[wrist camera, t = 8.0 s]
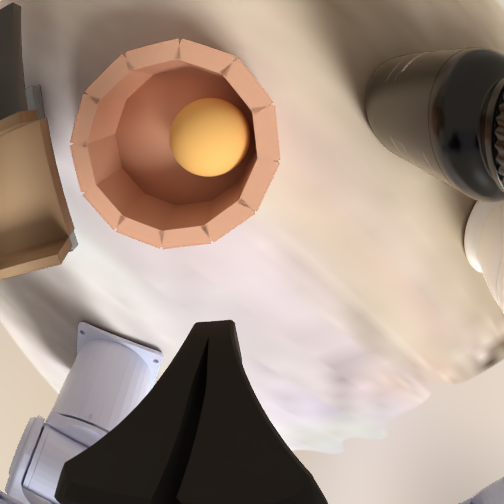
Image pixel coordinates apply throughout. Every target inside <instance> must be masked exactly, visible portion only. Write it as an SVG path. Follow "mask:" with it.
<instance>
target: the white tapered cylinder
mask: <svg viewBox="0 0 504 504" xmlns="http://www.w3.org/2000/svg"><path fill="white" fill-rule="evenodd" d="M464 247H465V253H466V257H467V259H468V261H469V263H470V265H471V266H472V267H473V268H474V269H476V270H477V271H479V272H482V273H483V276H484V279H485V282H486V284H487V286H488V288H489V290H490V292H491V294H492V296H493V297H494V299H495V301H496V302H497V304H498V305H499V306H500V308H501V309H502V312H503V314H504V200H503V201H499V202H481V201H477V202H476V204H475V205H474V207H473V209H472V211H471V213H470V216H469V219H468V222H467V225H466V230H465V238H464Z"/></svg>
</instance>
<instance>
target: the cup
mask: <svg viewBox="0 0 504 504" xmlns="http://www.w3.org/2000/svg"><path fill="white" fill-rule="evenodd" d="M125 54H126V55H125ZM125 54H121V55H120V56H119V57H118V58H117V59H116V60H115V61H114V62H113V63H112V64H111V65H110V66H109V67H108V68H107V69H106V70H105V71H104V72H103V73H102V74H101V75H100V76H99V77H98V78H97V79H96V80H95V81H94V82H93V83H92V84H91V85H90V86H89V87H88V88H87V89H86V90H85V92H86V93H87V94H83V96H82V100H81V103H80V106H79V110H78V113H77V117H76V121H75V124H74V128H73V132H72V136H71V140H70V142H71V143H74V144H73V145H70V148H71V153H72V157H73V161H74V166H75V170H76V174H77V178H78V182H79V186H80V190H81V192H84V191H86V192H85V193H84V194H83V196H84V197H85V198H86V199H87V201H88V202H89V203H90V204H91V205H92V206H93V208H94V209H95V210H96V211H97V212H98V213H99V214H100V215H101V217H102V218H103V219H104V220H105V221H106V222H107V223H108V224H109V225H110V227H111V228H112V229H113V230H114V229H115V228H116V227H117V231H116V232H118V233H121V234H123V235H126V236H128V237H131V238H133V239H136V240H139V241H141V242H144V243H146V244H149V245H152V246H154V247H157V248H160V247H161V245H162V247H163V249H168V248H176V247H185V246H194V245H203V244H211V240H212V241H213V242H215V241H217V240H218V239H219V238H221V237H222V236H224V235H225V234H227V233H228V232H229V231H231V230H232V229H234V228H235V227H237V226H238V225H239V224H241V223H242V222H244V221H245V220H247V219H248V218H250V217H251V216H252V215H254V214H255V211H257V210H258V208H259V206H260V204H261V202H262V200H263V198H264V196H265V193H266V191H267V189H268V187H269V185H270V183H271V181H272V179H273V177H274V175H275V172H276V170H277V168H278V166H279V161H278V160H280V151H279V141H278V131H277V121H276V112H275V106H274V105H271V103H273V101H272V100H271V98H270V97H269V96H268V94H267V93H266V92H265V90H264V89H263V88H262V87H261V85H260V84H259V83H258V81H257V80H256V79H255V78H254V76H253V75H252V74H251V73H250V71H249V70H248V69H247V68H246V67H245V65H244V64H243V63H242V62H241V60H240V59H239V58H238V59H237V60H236V56H234V55H231V54H229V53H226V52H223V51H220V50H217V49H214V48H211V47H208V46H205V45H202V44H199V43H196V42H192V41H189V40H186V39H182V40H180V39H179V38H178V39H173V40H169V41H164V42H160V43H156V44H152V45H148V46H144V47H141V48H137V49H133V50H130V51H127V52H125ZM203 98H218V99H222V100H225V101H228V102H230V103H232V104H233V105H234V106H236V107H237V108H238V109H239V110H240V111H241V112H242V113H243V115H244V116H245V118H246V120H247V122H248V125H249V129H250V143H249V147H248V150H247V153H246V155H245V156H244V158H243V159H242V161H241V162H240V163H239V164H238V165H237V166H236V167H235V168H234V169H232V170H230V171H229V172H227V173H224V174H222V175H218V176H210V177H206V176H200V175H196V174H193V173H191V172H189V171H187V170H186V169H184V168H183V167H182V166H181V165H180V164H179V163H178V162H177V161H176V159H175V157H174V156H173V154H172V151H171V148H170V143H169V133H170V128H171V125H172V122H173V120H174V119H175V117H176V115H177V114H178V113H179V112H180V111H181V110H182V109H183V108H184V107H185V106H186V105H188V104H190V103H191V102H194V101H196V100H199V99H203Z"/></svg>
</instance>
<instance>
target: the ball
mask: <svg viewBox="0 0 504 504" xmlns="http://www.w3.org/2000/svg"><path fill="white" fill-rule="evenodd" d="M169 143H170V148H171V151H172V154H173V156H174V157H175V159H176V161H177V162H178V163H179V164H180V165H181V166H182V167H183V168H184V169H186V170H187V171H189V172H191V173H193V174H196V175H200V176H206V177H210V176H218V175H222V174H224V173H227V172H229V171H230V170H232V169H234V168H235V167H236V166H237V165H238V164H239V163H240V162H241V161H242V159H243V158H244V156H245V155H246V153H247V150H248V147H249V143H250V129H249V125H248V122H247V120H246V118H245V116H244V115H243V113H242V112H241V111H240V110H239V109H238V108H237V107H236V106H234V105H233V104H232V103H230V102H228V101H225V100H222V99H218V98H203V99H199V100H196V101H194V102H191V103H190V104H188V105H186V106H185V107H184V108H183V109H182V110H181V111H180V112H179V113H178V114H177V115H176V117H175V119H174V120H173V122H172V125H171V128H170V133H169Z"/></svg>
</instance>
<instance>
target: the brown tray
mask: <svg viewBox="0 0 504 504" xmlns="http://www.w3.org/2000/svg"><path fill="white" fill-rule="evenodd" d="M73 230H74V226H73V222H72V219H71V216H70V213H69V209H68V206H67V203H66V199H65V196H64V192H63V188H62V185H61V181H60V177H59V173H58V169H57V165H56V161H55V156H54V152H53V147H52V143H51V138H50V133H49V127H48V122H47V119H40V120H39V116H38V110H29V111H28V106H27V99H26V91H25V83H24V73H23V61H22V46H21V7H20V6H19V5H17V4H15V3H11V4H9V5H8V6H6V7H4V8H2V9H0V280H1V279H5V278H9V277H12V276H16V275H20V274H24V273H28V272H32V271H36V270H40V269H44V268H48V267H52V266H56V265H60V264H62V262H63V260H64V258H65V257H66V255H67V253H68V252H69V250H70V249H71V247H72V243H71V240H70V237H69V236H70V235H71V233H72V232H73Z"/></svg>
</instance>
